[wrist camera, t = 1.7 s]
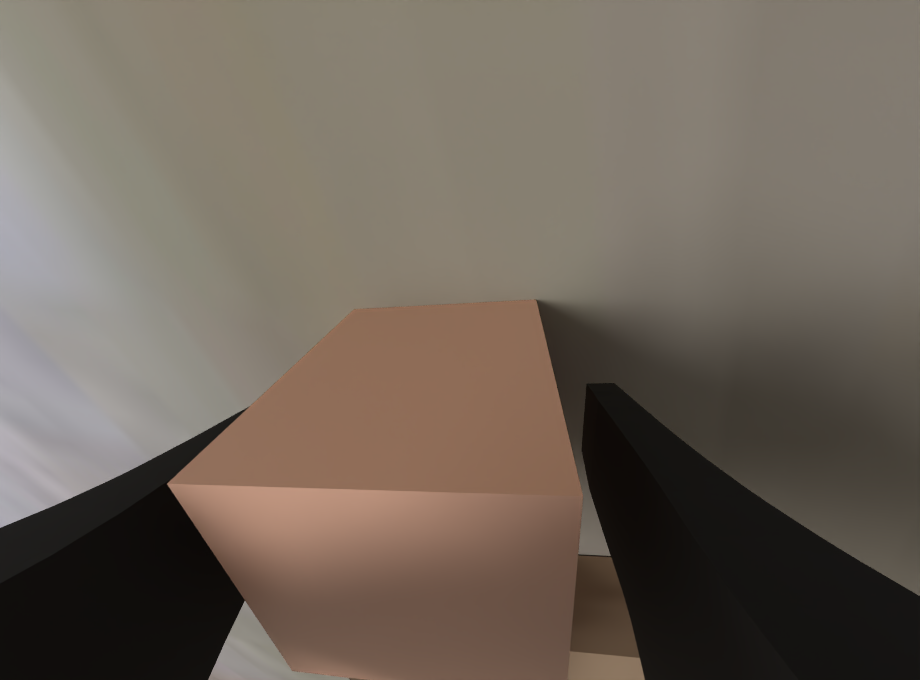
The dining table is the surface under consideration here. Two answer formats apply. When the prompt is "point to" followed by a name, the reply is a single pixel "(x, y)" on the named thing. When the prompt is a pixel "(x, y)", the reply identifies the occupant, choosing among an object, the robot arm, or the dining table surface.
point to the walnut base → (601, 626)
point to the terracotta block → (404, 499)
